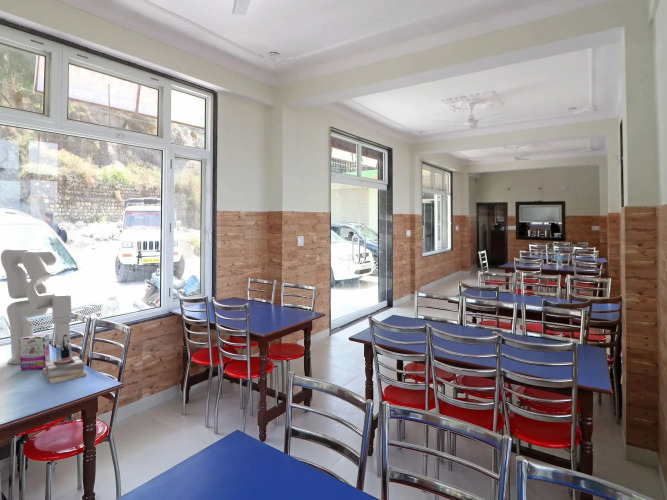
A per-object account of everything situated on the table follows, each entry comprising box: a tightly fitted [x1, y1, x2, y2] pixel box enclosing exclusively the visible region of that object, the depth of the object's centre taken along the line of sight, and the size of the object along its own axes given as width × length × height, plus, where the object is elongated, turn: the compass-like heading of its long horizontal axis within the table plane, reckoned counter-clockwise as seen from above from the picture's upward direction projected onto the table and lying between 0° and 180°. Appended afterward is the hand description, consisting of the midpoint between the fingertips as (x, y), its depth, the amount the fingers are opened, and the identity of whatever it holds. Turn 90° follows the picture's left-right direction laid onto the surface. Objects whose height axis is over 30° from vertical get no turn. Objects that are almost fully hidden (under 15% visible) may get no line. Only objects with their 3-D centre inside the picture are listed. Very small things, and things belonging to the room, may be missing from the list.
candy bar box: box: [19, 334, 51, 371], centre depth 196 cm, size 11×5×16 cm, turn 102°
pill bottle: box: [55, 342, 73, 363], centre depth 189 cm, size 6×6×11 cm
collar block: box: [42, 355, 87, 385], centre depth 190 cm, size 20×14×6 cm
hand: (63, 355), depth 190 cm, fingers closed on pill bottle, 6 cm apart
